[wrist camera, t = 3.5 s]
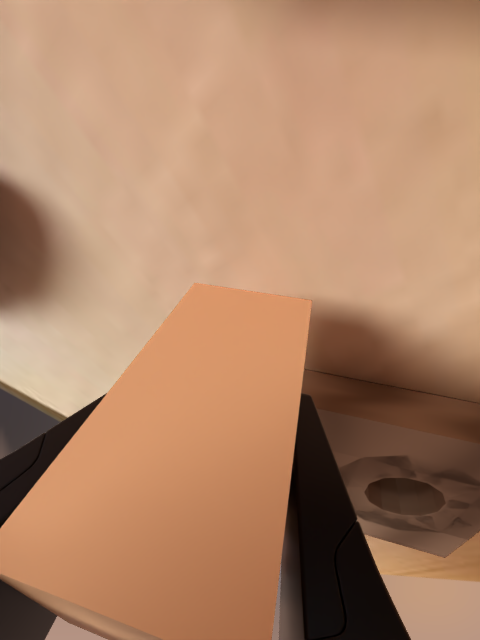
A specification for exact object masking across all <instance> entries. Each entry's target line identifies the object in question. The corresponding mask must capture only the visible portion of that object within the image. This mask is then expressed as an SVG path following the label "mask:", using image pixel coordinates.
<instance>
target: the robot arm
mask: <svg viewBox="0 0 480 640" xmlns="http://www.w3.org/2000/svg"><path fill="white" fill-rule="evenodd" d="M106 394H107V393H106ZM106 394H105V395H103V396H102V397H100V398H98V399H97V400H95V401H94V402H92V403H91V404H89V405H87V406H86V407H84V408H83V409H81V410H79V411H78V412H76V413H75V414H73V415H72V416H70V417H68V418H67V419H65V420H64V421H62V422H60V423H59V424H57V425H56V426H54V427H53V428H51V429H49V430H48V431H47V432H46V433H43V434H41V435H40V436H38V437H37V438H35V439H33V440H32V441H30V442H29V443H27V444H25V445H24V446H22V447H20V448H19V449H17V450H16V451H14V452H12V453H10V454H9V455H7V456H5V457H4V458H2V459H0V528H1V527H2V526H3V524H4V523H5V522H6V520H7V519H8V518H9V517H10V515H11V514H12V513H13V512H14V510H15V509H16V508H17V507H18V505H19V504H20V503H21V502H22V500H23V499H24V498H25V497H26V495H27V494H28V493H29V491H30V490H31V489H32V488H33V486H34V485H35V484H36V483H37V481H38V480H39V479H40V478H41V476H42V475H43V474H44V473H45V471H46V470H47V469H48V467H49V466H50V465H51V464H52V462H53V461H54V460H55V459H56V457H57V456H58V455H59V454H60V452H61V451H62V450H63V449H64V447H65V446H66V445H67V444H68V442H69V441H70V440H71V438H72V437H73V436H74V435H75V433H76V432H77V431H78V430H79V428H80V427H81V426H82V425H83V423H84V422H85V421H86V420H87V418H88V417H89V416H90V414H91V413H92V412H93V411H94V409H95V408H96V407H97V406H98V404H99V403H100V402H101V401H102V399H103V398H104V397H105V396H106ZM357 519H358V518H357V515H356V513H355V510H354V507H353V505H352V502H351V499H350V497H349V494H348V491H347V489H346V486H345V483H344V481H343V478H342V475H341V473H340V470H339V467H338V465H337V462H336V459H335V457H334V454H333V451H332V449H331V446H330V443H329V441H328V438H327V435H326V433H325V430H324V427H323V425H322V422H321V420H320V417H319V414H318V412H317V409H316V406H315V404H314V401H313V398H312V396H311V395H310V394H305V393H301V397H300V406H299V414H298V422H297V431H296V439H295V448H294V456H293V464H292V473H291V481H290V489H289V498H288V506H287V514H286V523H285V531H284V540H283V548H282V559H281V592H280V622H279V640H411V639H410V637H409V634H408V632H407V630H406V628H405V626H404V624H403V622H402V620H401V618H400V616H399V614H398V612H397V610H396V608H395V605H394V603H393V601H392V599H391V597H390V595H389V593H388V590H387V588H386V586H385V584H384V582H383V579H382V577H381V575H380V573H379V571H378V568H377V566H376V564H375V561H374V559H373V556H372V554H371V551H370V549H369V546H368V544H367V541H366V539H365V536H364V533H363V531H362V528H361V525H360V523H359V522H358V521H357ZM56 617H57V615H56V614H54V613H52V612H51V611H49V610H48V609H46V608H45V607H43V606H41V605H40V604H38V603H37V602H35V601H33V600H32V599H30V598H29V597H27V596H26V595H24V594H22V593H21V592H19V591H18V590H16V589H14V588H13V587H11V586H10V585H8V584H7V583H5V582H3V581H2V580H0V640H45V638H46V636H47V634H48V632H49V630H50V629H51V627H52V625H53V623H54V621H55V619H56Z"/></svg>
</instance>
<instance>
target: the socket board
mask: <svg viewBox="0 0 480 640" xmlns="http://www.w3.org/2000/svg"><path fill="white" fill-rule="evenodd" d="M301 393H305V394H310V395H311V396H312V398H313V401H314V404H315V406H316V409H317V412H318V414H319V417H320V420H321V422H322V425H323V427H324V430H325V433H326V435H327V438H328V441H329V443H330V446H331V449H332V451H333V454H334V457H335V459H336V462H337V465H338V467H339V470H340V473H341V475H342V478H343V481H344V483H345V486H346V489H347V491H348V494H349V497H350V499H351V502H352V505H353V507H354V510H355V513H356V515H357V518H358V519H357V521H358V522H359V523H360V525H361V528H362V531H363V533H364V534H365V535H368V536H372V537H375V538H379V539H382V540H386V541H389V542H393V543H396V544H399V545H403V546H406V547H410V548H413V549H417V550H420V551H424V552H427V553H431V554H434V555H437V556H441V557H444V558H445V557H447V556H448V555H449V554H451V553H452V552H453V551H454V550H456V549H457V548H458V547H460V546H461V545H462V544H463V543H465V542H466V541H467V540H469V539H470V538H471V537H472V536H474V535H475V534H476V533H478V532H479V531H480V404H479V403H474V402H469V401H463V400H458V399H453V398H448V397H443V396H438V395H433V394H428V393H422V392H417V391H412V390H407V389H402V388H397V387H392V386H386V385H381V384H376V383H371V382H366V381H361V380H356V379H351V378H345V377H340V376H335V375H330V374H325V373H320V372H315V371H309V370H304V372H303V381H302V389H301Z"/></svg>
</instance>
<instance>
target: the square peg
mask: <svg viewBox="0 0 480 640" xmlns="http://www.w3.org/2000/svg"><path fill="white" fill-rule="evenodd" d="M311 305H312V300H306V299H299V298H292V297H286V296H279V295H272V294H266V293H259V292H252V291H246V290H239V289H232V288H226V287H219V286H212V285H206V284H199V283H194V285H193V286H192V287H191V288H190V290H189V291H188V292H187V293H186V295H185V296H184V297H183V298H182V300H181V301H180V302H179V303H178V305H177V306H176V307H175V308H174V310H173V311H172V312H171V314H170V315H169V316H168V317H167V319H166V320H165V321H164V322H163V324H162V325H161V326H160V327H159V329H158V330H157V331H156V332H155V334H154V335H153V336H152V338H151V339H150V340H149V341H148V343H147V344H146V345H145V346H144V348H143V349H142V350H141V351H140V353H139V354H138V355H137V356H136V358H135V359H134V360H133V361H132V363H131V364H130V365H129V367H128V368H127V369H126V370H125V372H124V373H123V374H122V375H121V377H120V378H119V379H118V380H117V382H116V383H115V384H114V385H113V387H112V388H111V389H110V391H109V392H108V393H107V394H106V396H105V397H104V398H103V399H102V401H101V402H100V403H99V404H98V406H97V407H96V408H95V409H94V411H93V412H92V413H91V414H90V416H89V417H88V418H87V420H86V421H85V422H84V423H83V425H82V426H81V427H80V428H79V430H78V431H77V432H76V433H75V435H74V436H73V437H72V438H71V440H70V441H69V442H68V444H67V445H66V446H65V447H64V449H63V450H62V451H61V452H60V454H59V455H58V456H57V457H56V459H55V460H54V461H53V462H52V464H51V465H50V466H49V467H48V469H47V470H46V471H45V473H44V474H43V475H42V476H41V478H40V479H39V480H38V481H37V483H36V484H35V485H34V486H33V488H32V489H31V490H30V491H29V493H28V494H27V495H26V497H25V498H24V499H23V500H22V502H21V503H20V504H19V505H18V507H17V508H16V509H15V510H14V512H13V513H12V514H11V515H10V517H9V518H8V519H7V520H6V522H5V523H4V524H3V526H2V527H1V528H0V580H2V581H3V582H5V583H7V584H8V585H10V586H11V587H13V588H14V589H16V590H18V591H19V592H21V593H22V594H24V595H26V596H27V597H29V598H30V599H32V600H33V601H35V602H37V603H38V604H40V605H41V606H43V607H45V608H46V609H48V610H49V611H51V612H52V613H54V614H56V615H57V616H59V617H60V618H62V619H64V620H65V621H67V622H68V623H70V624H73V625H75V626H77V627H80V628H82V629H85V630H87V631H90V632H92V633H94V634H97V635H99V636H101V637H103V638H106V639H108V640H271V639H272V631H273V623H274V615H275V606H276V598H277V589H278V581H279V573H280V564H281V556H282V548H283V540H284V531H285V523H286V514H287V506H288V498H289V489H290V481H291V473H292V464H293V456H294V448H295V439H296V431H297V422H298V414H299V406H300V397H301V389H302V381H303V372H304V364H305V356H306V347H307V339H308V331H309V322H310V314H311Z"/></svg>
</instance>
